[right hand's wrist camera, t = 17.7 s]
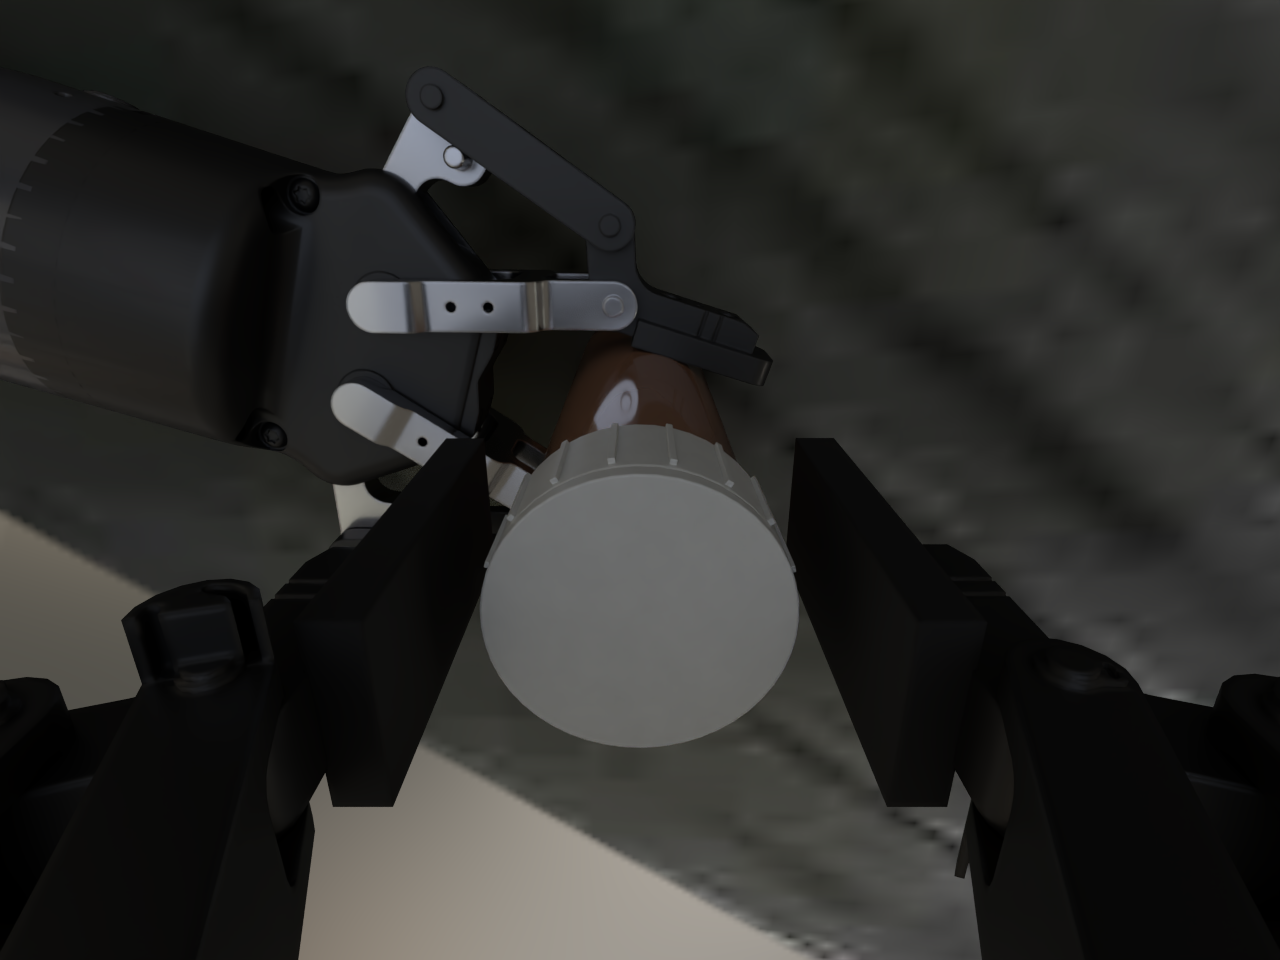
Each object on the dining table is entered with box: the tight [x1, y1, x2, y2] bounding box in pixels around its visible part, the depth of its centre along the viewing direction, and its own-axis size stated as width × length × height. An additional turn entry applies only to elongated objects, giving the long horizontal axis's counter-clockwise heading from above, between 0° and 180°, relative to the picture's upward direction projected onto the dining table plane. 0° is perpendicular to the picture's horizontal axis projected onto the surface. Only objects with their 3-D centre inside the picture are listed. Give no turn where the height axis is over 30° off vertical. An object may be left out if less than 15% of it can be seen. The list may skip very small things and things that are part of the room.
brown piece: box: [542, 331, 737, 462], centre depth 18 cm, size 4×4×16 cm
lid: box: [480, 423, 799, 748], centre depth 11 cm, size 5×5×2 cm
